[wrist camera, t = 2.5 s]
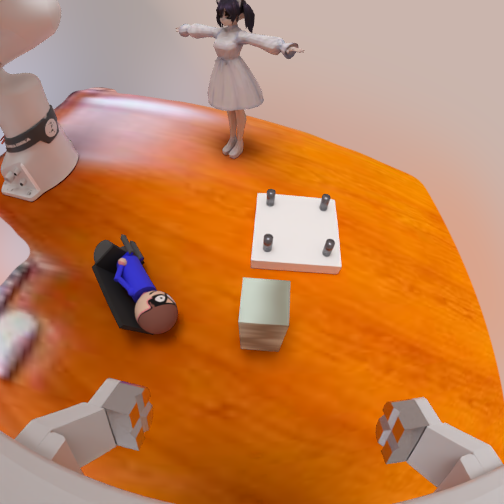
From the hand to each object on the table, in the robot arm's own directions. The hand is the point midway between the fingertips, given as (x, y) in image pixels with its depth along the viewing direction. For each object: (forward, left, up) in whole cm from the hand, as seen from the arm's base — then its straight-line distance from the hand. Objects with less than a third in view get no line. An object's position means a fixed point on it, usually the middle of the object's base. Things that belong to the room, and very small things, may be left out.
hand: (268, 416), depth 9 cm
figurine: (-7, +45, -25) cm, 52 cm away
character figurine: (-16, +14, -25) cm, 33 cm away
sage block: (0, +11, -25) cm, 27 cm away
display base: (+4, +26, -25) cm, 36 cm away
